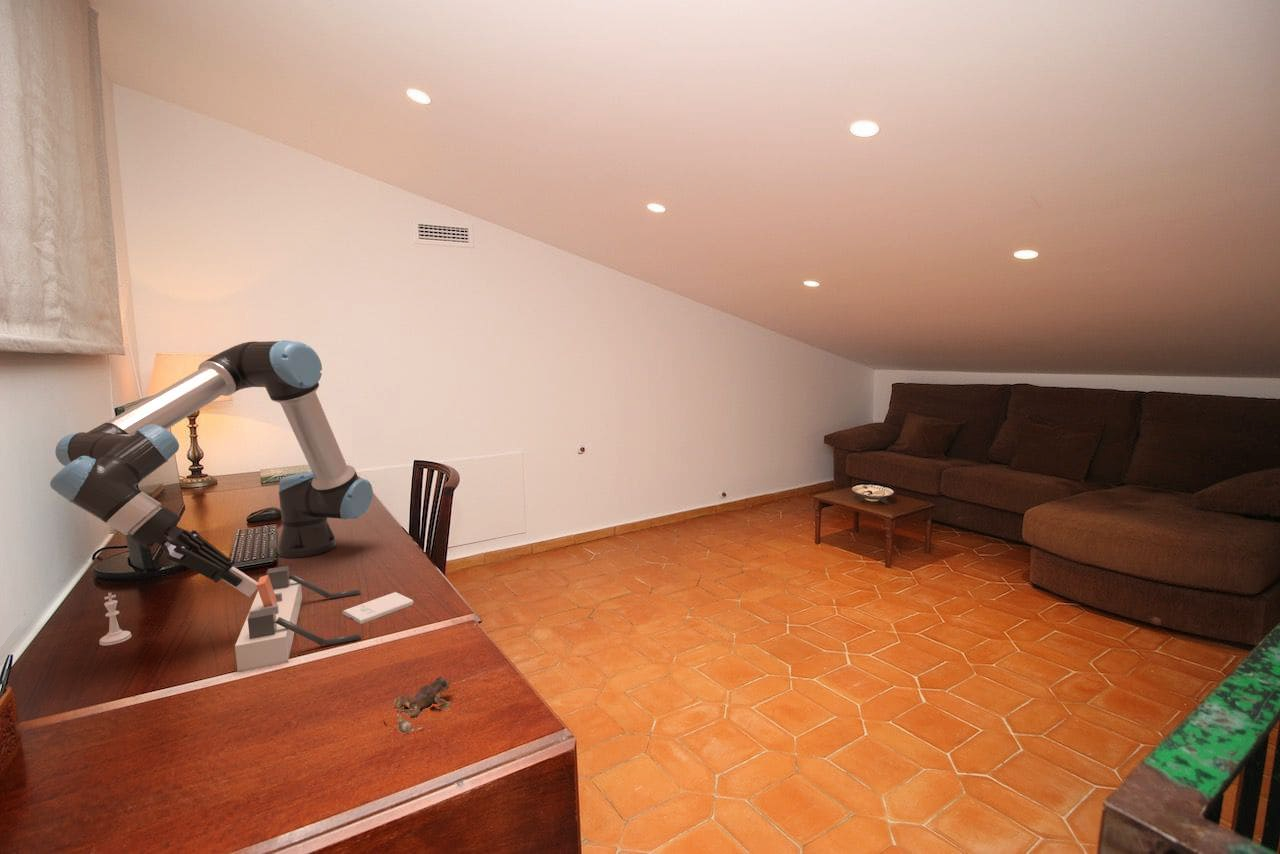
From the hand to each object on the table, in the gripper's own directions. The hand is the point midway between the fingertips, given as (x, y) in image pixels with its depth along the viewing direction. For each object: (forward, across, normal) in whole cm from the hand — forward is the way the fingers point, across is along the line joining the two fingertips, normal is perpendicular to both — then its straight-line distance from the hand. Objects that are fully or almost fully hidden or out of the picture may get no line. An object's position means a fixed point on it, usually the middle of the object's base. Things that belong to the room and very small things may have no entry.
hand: (255, 590), depth 120 cm
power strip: (+13, 0, 0) cm, 13 cm away
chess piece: (-11, -10, -26) cm, 30 cm away
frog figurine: (+27, +42, +13) cm, 52 cm away
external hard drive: (+23, -2, +10) cm, 25 cm away
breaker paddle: (+5, 0, -1) cm, 5 cm away
